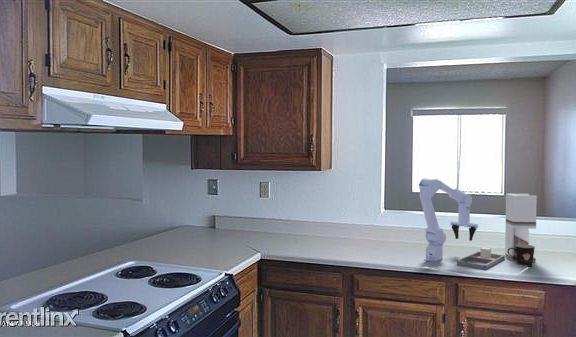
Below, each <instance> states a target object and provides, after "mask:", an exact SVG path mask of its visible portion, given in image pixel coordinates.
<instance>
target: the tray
mask: <svg viewBox="0 0 576 337" xmlns="http://www.w3.org/2000/svg"><path fill="white" fill-rule="evenodd" d="M505 258H506V257H505V255H504V254H496V253H491V259H485V258H480V251H476V252H473V253H471V254H468V255H466V256H464V257H461V258H460V259H458V260H456V266H462V267H468V268H472V269H480V270H484V271H486V270H488V269H490V268H492V267H493V266H495V265H497V264H499V263H500V262H503V261H505Z"/></svg>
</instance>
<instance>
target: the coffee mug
mask: <svg viewBox="0 0 576 337" xmlns="http://www.w3.org/2000/svg"><path fill="white" fill-rule="evenodd" d="M515 246H516V249H514V248H509V249H508V251H507V252H508V254H509V250H510V249H514V250H515V252H516V255H517V259H516V258H515V257H513V256H512V255H510V254H509V255H510V256H511V257H513V258H514V259H516V260H517V264H518V265H521V266H526V268H532V266H533V263H534V262H533V257H534V254H535V248H536V247H535V246H534V245H531V244H528V245H524V244H518V245H515Z"/></svg>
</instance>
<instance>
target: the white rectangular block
mask: <svg viewBox="0 0 576 337" xmlns="http://www.w3.org/2000/svg"><path fill="white" fill-rule="evenodd" d="M479 249H480V251H479V252H480V258H485V259H491V254H492V248H491V247H484V246H483V247H480V248H479Z"/></svg>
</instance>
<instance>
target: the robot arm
mask: <svg viewBox="0 0 576 337" xmlns="http://www.w3.org/2000/svg"><path fill="white" fill-rule="evenodd" d="M418 188H419V199H420V204H421V208H422V211H423V215H424V219H425V221H426V226H427V227H426V228H425V239H426V240H427V243H428V244H427V246H426V248H425V258H423V260H424V261H425V262H426V261H427V262H432V261H435V262H437V261H440V260H443V254H444V252H443V249H444V248H443V247H444V246H443V245H444V244H445V243H446V240H447V236H446V234H445V232H444V231H443V228H442V227H441V226H440V225H439V222H438V219H437V214H436V211H435V207H434V204H433V200H432V197H434V196H435V194H436V193H437V192H438V191H439V190H440V191H442V192H444V193H447V194H448V197H450V198H451V199H453V200H455V201H456V203H458V221H450V223H449V225H450V226H451V229H452V231H453V233H454V237H455V240H457V239H459V230H460V227H465V228H466V227H467V228H468V232H469V236H468V237H469V241H471V242H472V241H473V238H474V235H475V232H476V231H477V229H478V228H479V224H478V223H472V222H470V221H471V220H470V218H471V217H470V216H471V213H470V212H471V211H470V210H471V209H470V208H471V206H472V205H471V204H472V202H473V198H472V196H471V195H470V194H469V193H465V191H462V190H461V189H459V187H456V186H455V187H450V186H449V185H448V184H446V183H444V182H442V180H439V179H437V178H435V179H433V178H426V177H424V178H422V179H420V182H419V183H418Z"/></svg>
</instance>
